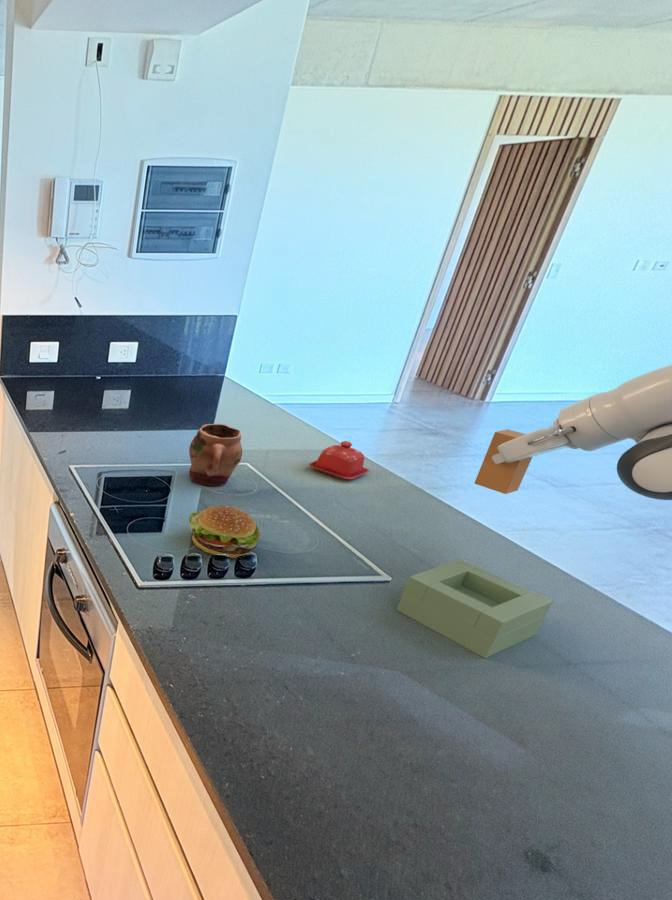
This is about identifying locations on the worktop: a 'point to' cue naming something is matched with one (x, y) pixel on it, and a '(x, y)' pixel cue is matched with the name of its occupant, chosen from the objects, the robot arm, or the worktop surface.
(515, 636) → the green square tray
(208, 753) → the worktop surface
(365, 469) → the butter dish
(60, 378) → the worktop surface
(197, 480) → the decorative planter
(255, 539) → the food
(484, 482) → the orange rectangular block
